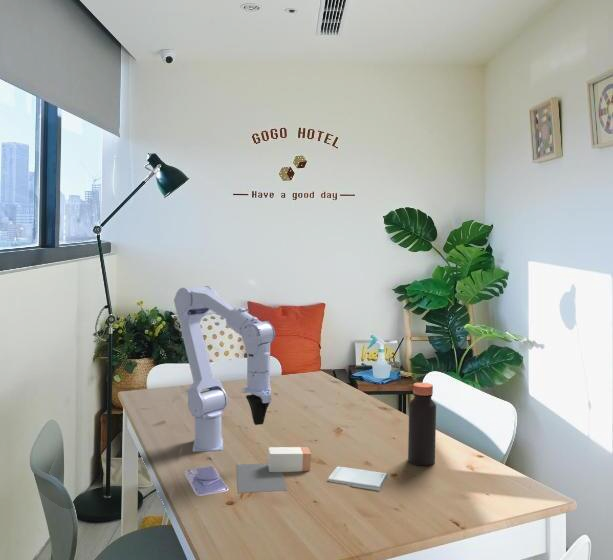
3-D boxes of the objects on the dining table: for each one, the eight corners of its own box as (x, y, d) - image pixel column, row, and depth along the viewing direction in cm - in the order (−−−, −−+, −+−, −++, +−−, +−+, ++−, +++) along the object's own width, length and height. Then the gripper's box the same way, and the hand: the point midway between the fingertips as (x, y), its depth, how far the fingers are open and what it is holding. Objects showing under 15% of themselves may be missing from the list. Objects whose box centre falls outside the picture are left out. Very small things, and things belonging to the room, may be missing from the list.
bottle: (423, 454, 148) (425, 380, 147) (440, 463, 142) (442, 386, 141) (402, 458, 145) (404, 383, 144) (419, 468, 139) (420, 389, 138)
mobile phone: (196, 495, 122) (182, 469, 136) (196, 499, 122) (182, 473, 136) (230, 489, 125) (213, 464, 139) (230, 493, 125) (213, 468, 139)
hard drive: (387, 472, 134) (337, 465, 138) (379, 486, 126) (327, 477, 130) (387, 479, 134) (337, 471, 138) (379, 493, 126) (327, 484, 131)
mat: (236, 466, 140) (236, 464, 140) (280, 463, 141) (280, 462, 141) (237, 494, 124) (237, 492, 124) (287, 491, 126) (287, 490, 126)
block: (268, 447, 139) (308, 447, 141) (267, 464, 140) (307, 464, 141) (270, 453, 135) (310, 453, 136) (269, 472, 135) (310, 471, 137)
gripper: (236, 365, 145) (236, 417, 146) (250, 378, 131) (250, 434, 132) (262, 363, 147) (262, 414, 148) (279, 375, 134) (279, 431, 135)
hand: (258, 423), depth 140 cm, fingers closed
